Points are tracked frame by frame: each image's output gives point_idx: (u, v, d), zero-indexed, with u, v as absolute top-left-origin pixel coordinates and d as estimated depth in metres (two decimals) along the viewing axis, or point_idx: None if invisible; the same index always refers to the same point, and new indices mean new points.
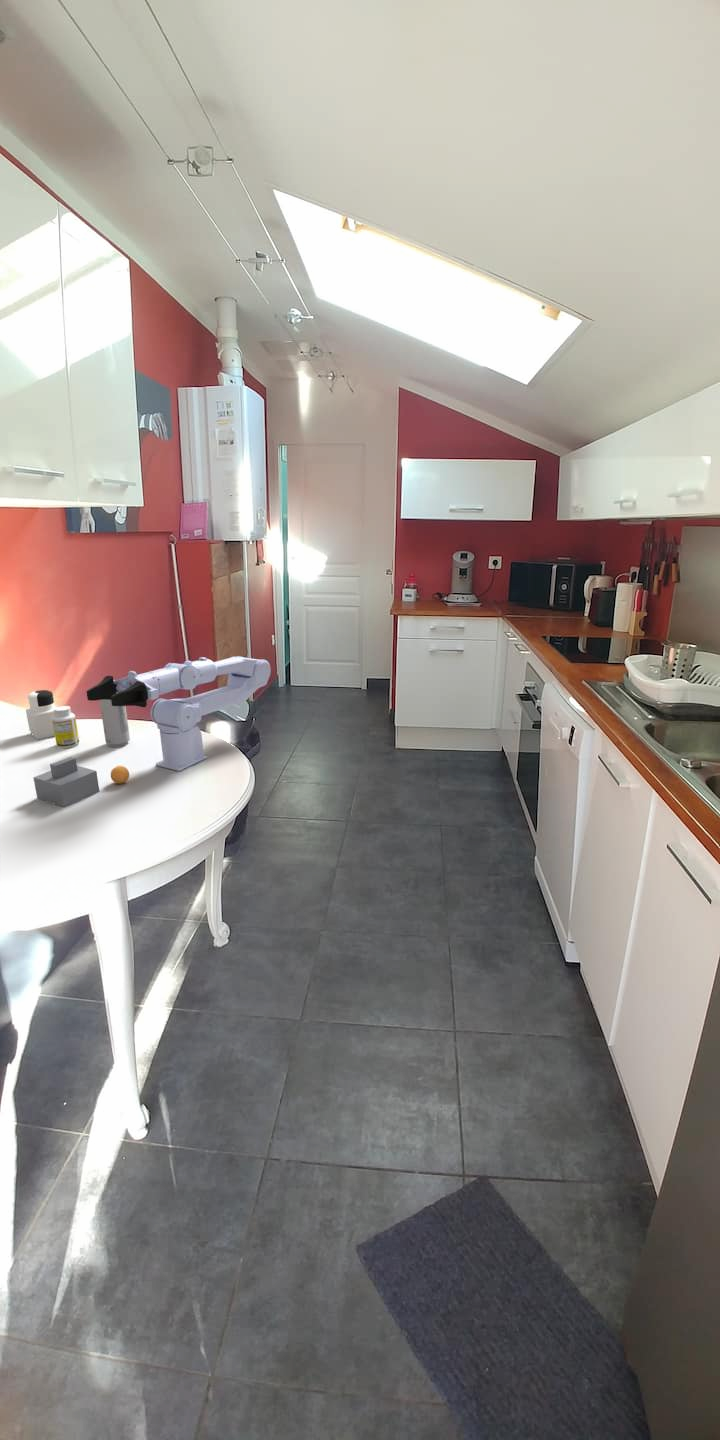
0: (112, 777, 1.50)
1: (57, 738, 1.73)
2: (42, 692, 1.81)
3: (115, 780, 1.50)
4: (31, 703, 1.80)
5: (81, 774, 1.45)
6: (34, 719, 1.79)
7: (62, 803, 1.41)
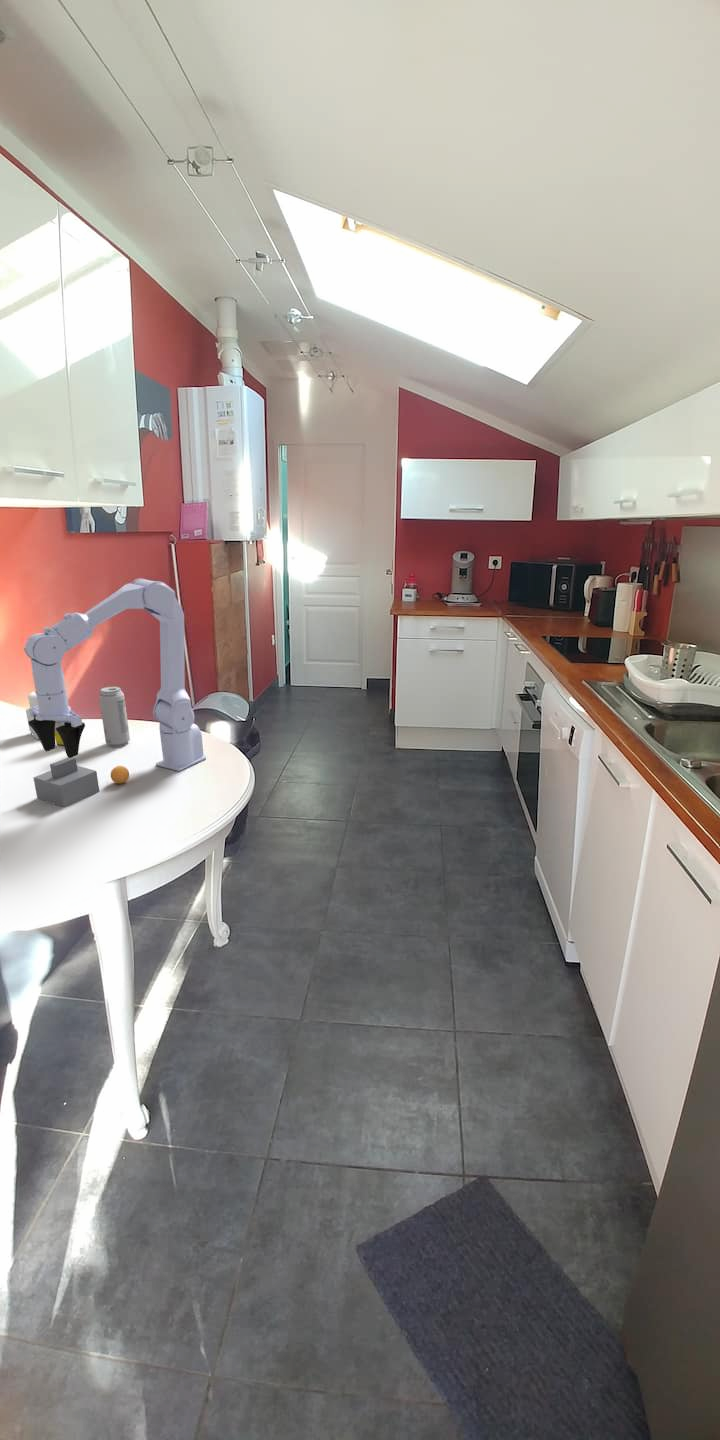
0: (112, 777, 1.50)
1: (57, 738, 1.73)
2: None
3: (115, 780, 1.50)
4: (31, 703, 1.80)
5: (81, 774, 1.45)
6: None
7: (62, 803, 1.41)
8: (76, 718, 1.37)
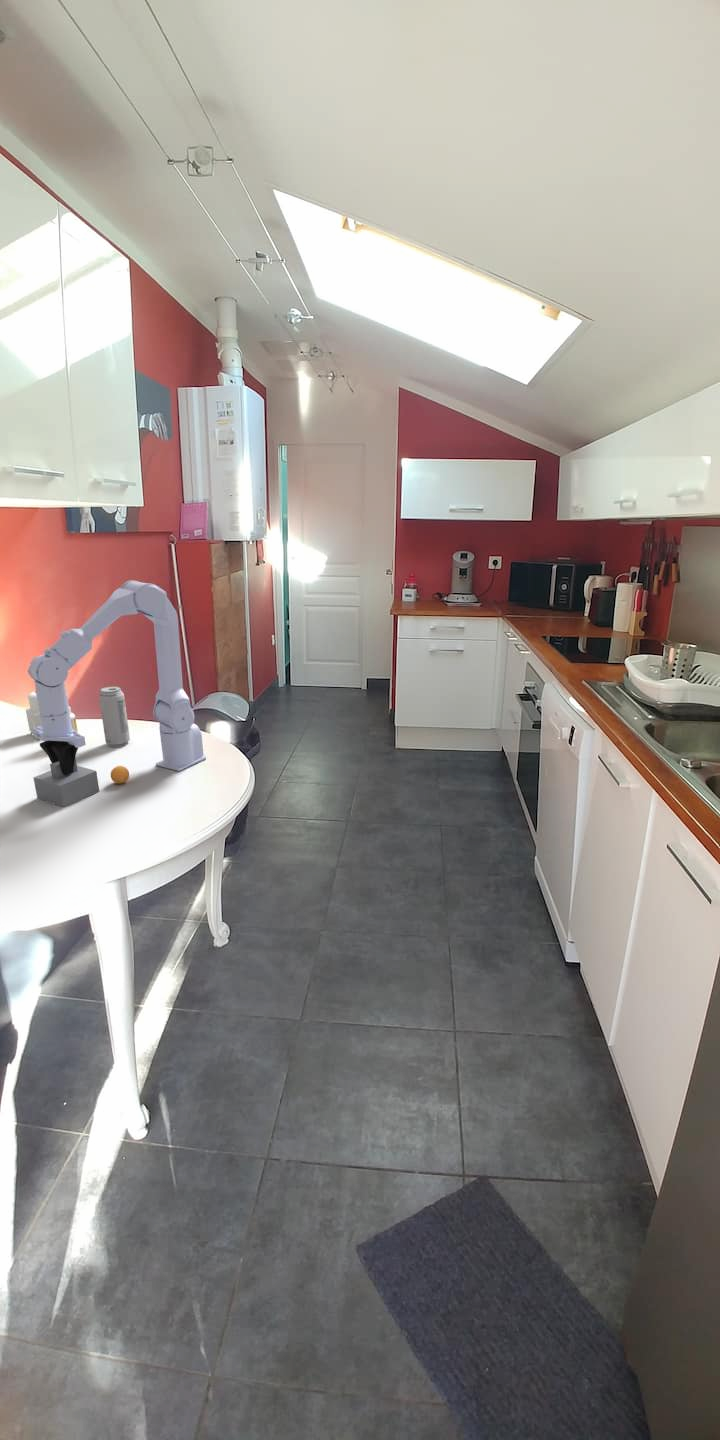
0: (112, 777, 1.50)
1: None
2: None
3: (115, 780, 1.50)
4: (31, 703, 1.80)
5: (81, 774, 1.45)
6: (34, 719, 1.79)
7: (62, 803, 1.41)
8: (79, 739, 1.39)
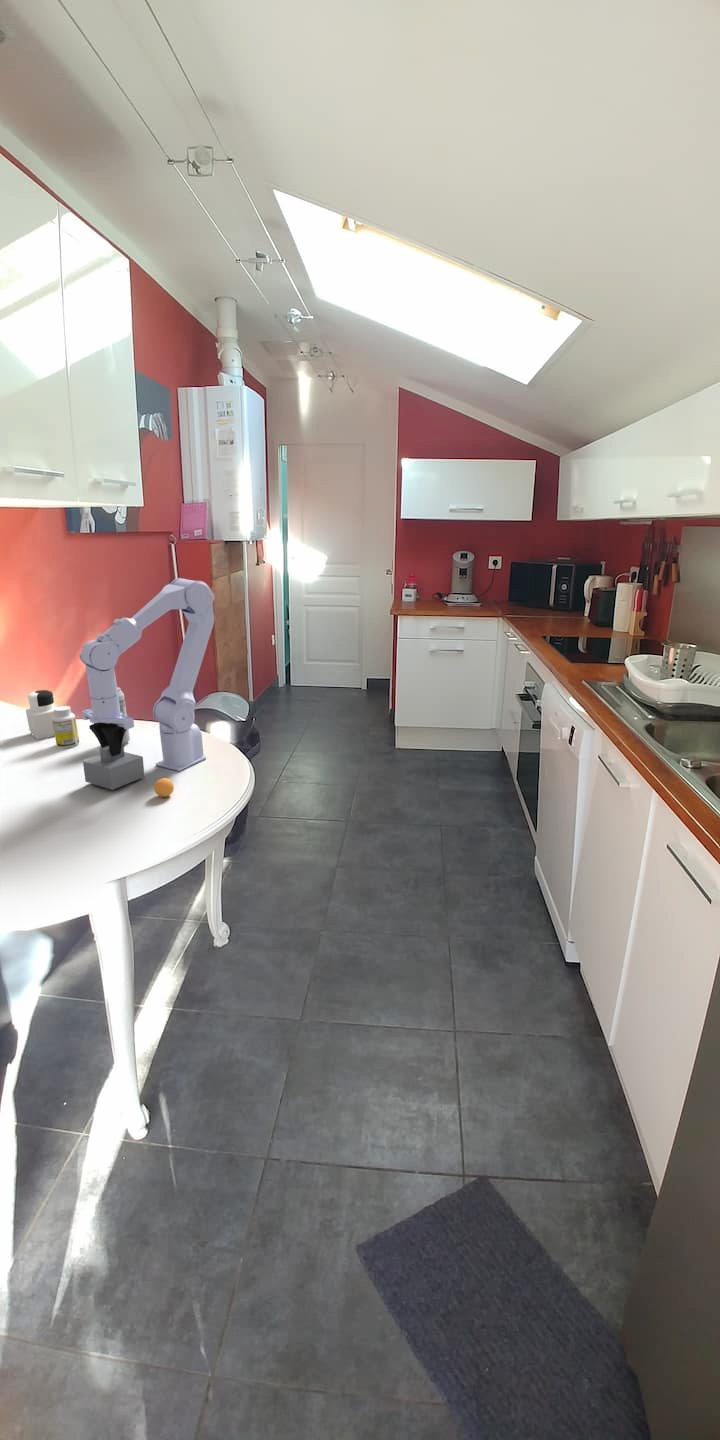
0: (157, 790, 1.43)
1: (57, 738, 1.73)
2: (42, 692, 1.81)
3: (158, 794, 1.44)
4: (31, 703, 1.80)
5: (128, 759, 1.51)
6: (34, 719, 1.79)
7: (111, 786, 1.47)
8: (129, 721, 1.45)
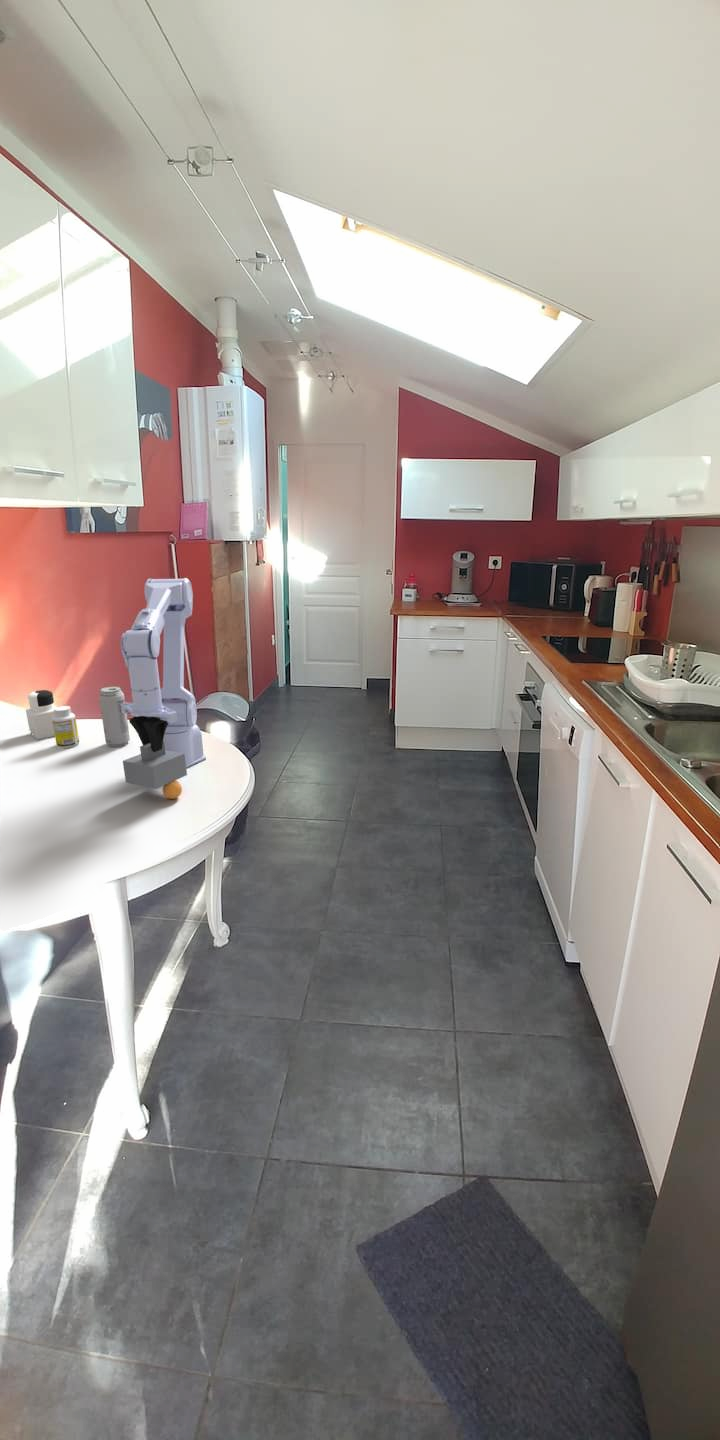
0: (165, 792, 1.42)
1: (57, 738, 1.73)
2: (42, 692, 1.81)
3: (163, 793, 1.43)
4: (31, 703, 1.80)
5: (170, 756, 1.43)
6: (34, 719, 1.79)
7: (153, 785, 1.39)
8: (172, 714, 1.37)
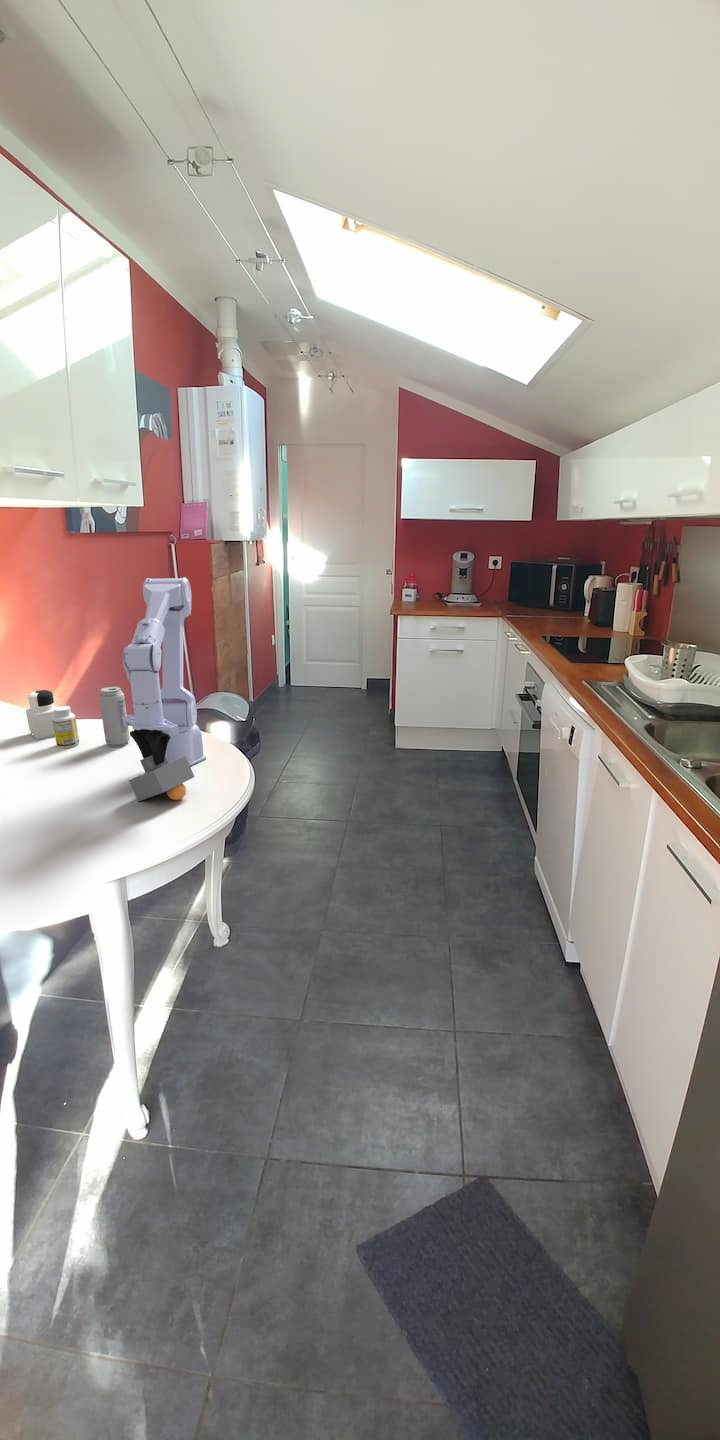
0: (170, 793, 1.42)
1: (57, 738, 1.73)
2: (42, 692, 1.81)
3: (167, 792, 1.42)
4: (31, 703, 1.80)
5: (172, 762, 1.43)
6: (34, 719, 1.79)
7: (160, 789, 1.38)
8: (174, 727, 1.38)
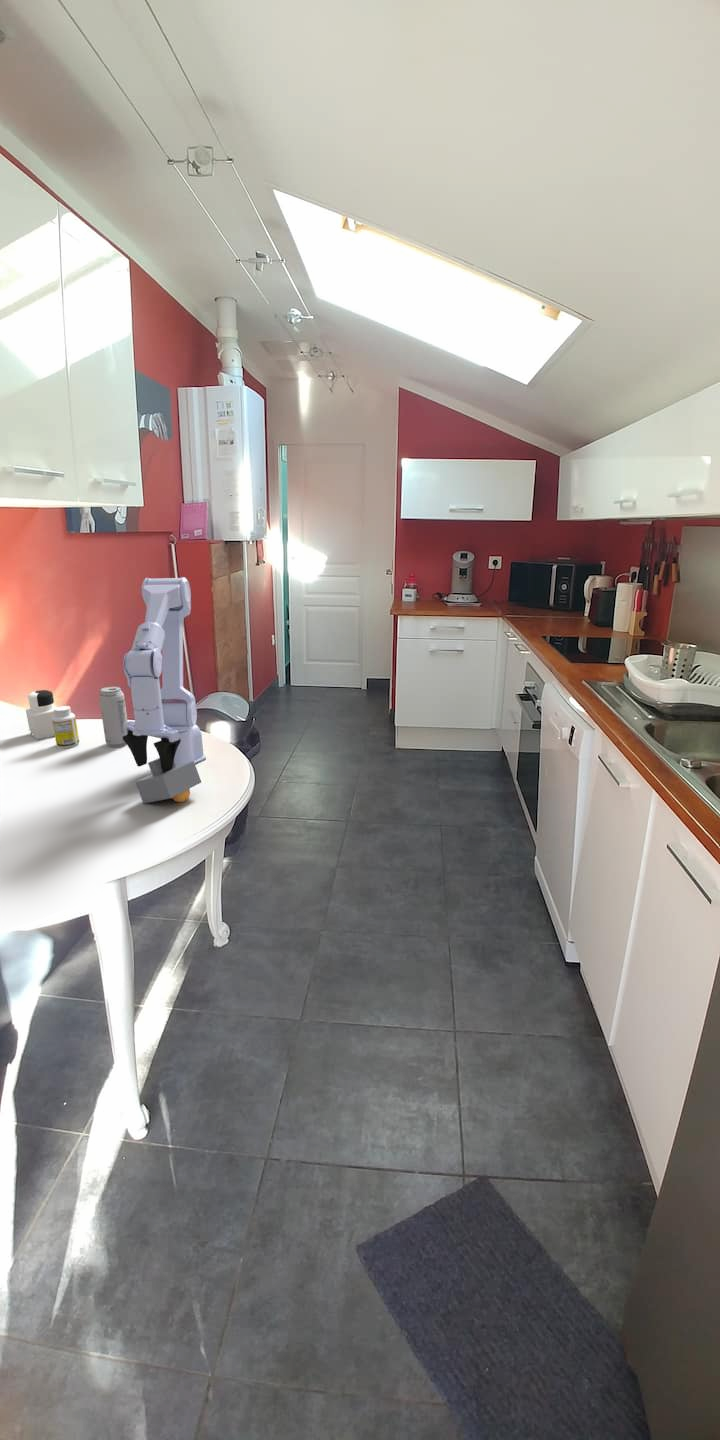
0: None
1: (57, 738, 1.73)
2: (42, 692, 1.81)
3: None
4: (31, 703, 1.80)
5: (180, 766, 1.42)
6: (34, 719, 1.79)
7: (168, 794, 1.37)
8: (174, 733, 1.38)
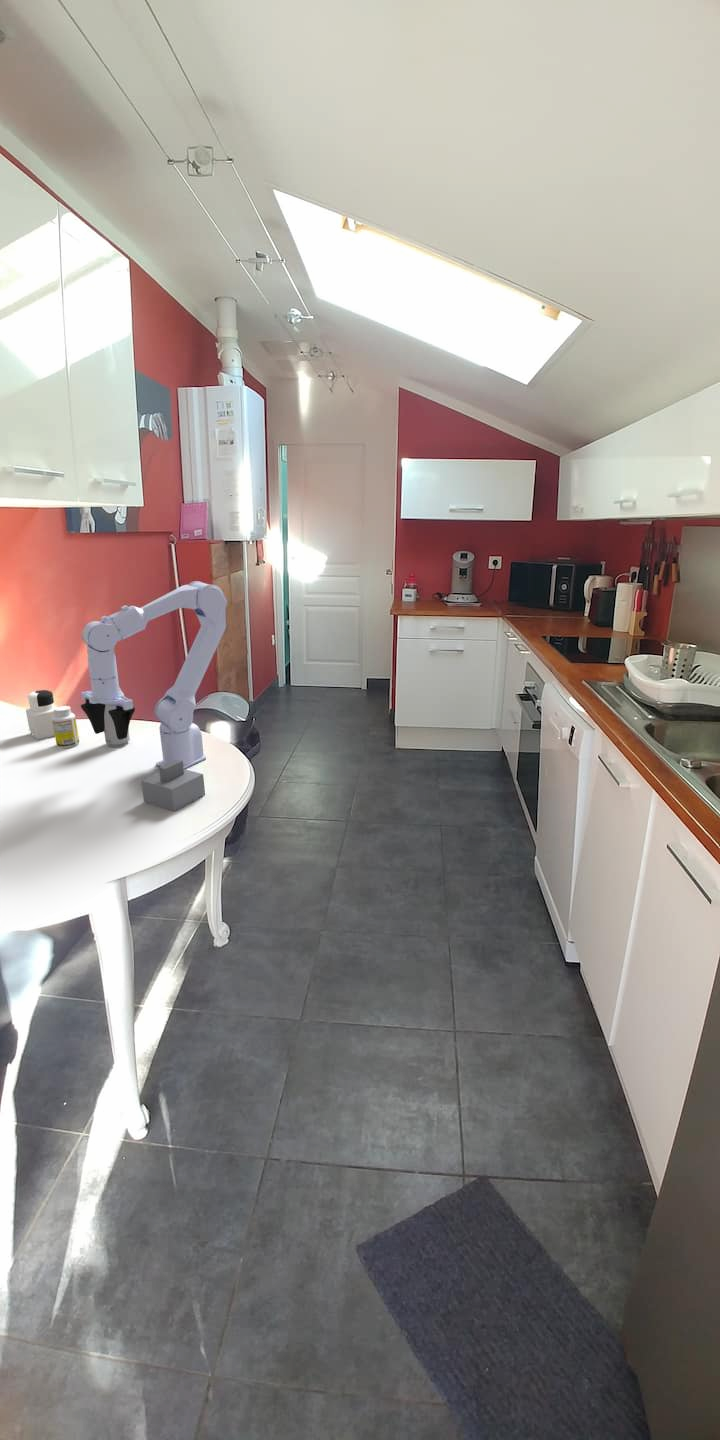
0: None
1: (57, 738, 1.73)
2: (42, 692, 1.81)
3: None
4: (31, 703, 1.80)
5: (189, 777, 1.42)
6: (34, 719, 1.79)
7: (173, 807, 1.38)
8: (128, 702, 1.46)
